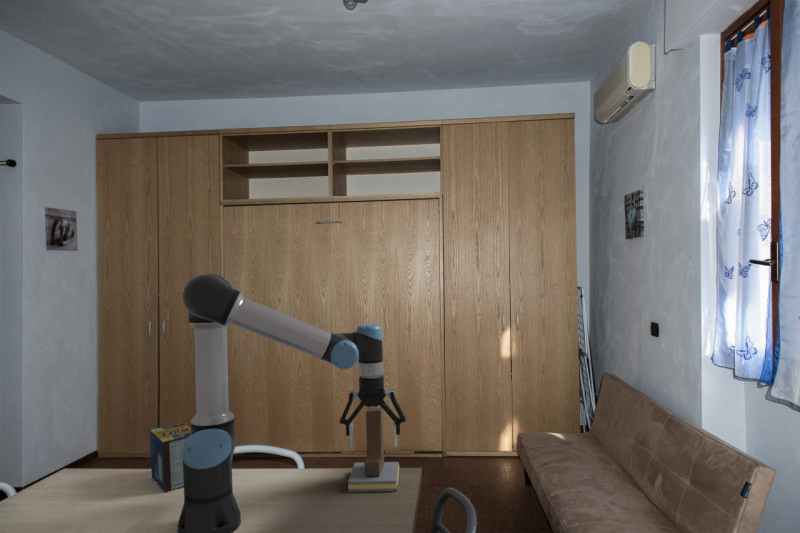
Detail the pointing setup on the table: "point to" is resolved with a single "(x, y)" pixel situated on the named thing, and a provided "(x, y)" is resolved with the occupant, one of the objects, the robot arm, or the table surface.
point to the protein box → (168, 455)
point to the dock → (374, 478)
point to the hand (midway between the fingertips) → (373, 445)
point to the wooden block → (374, 442)
